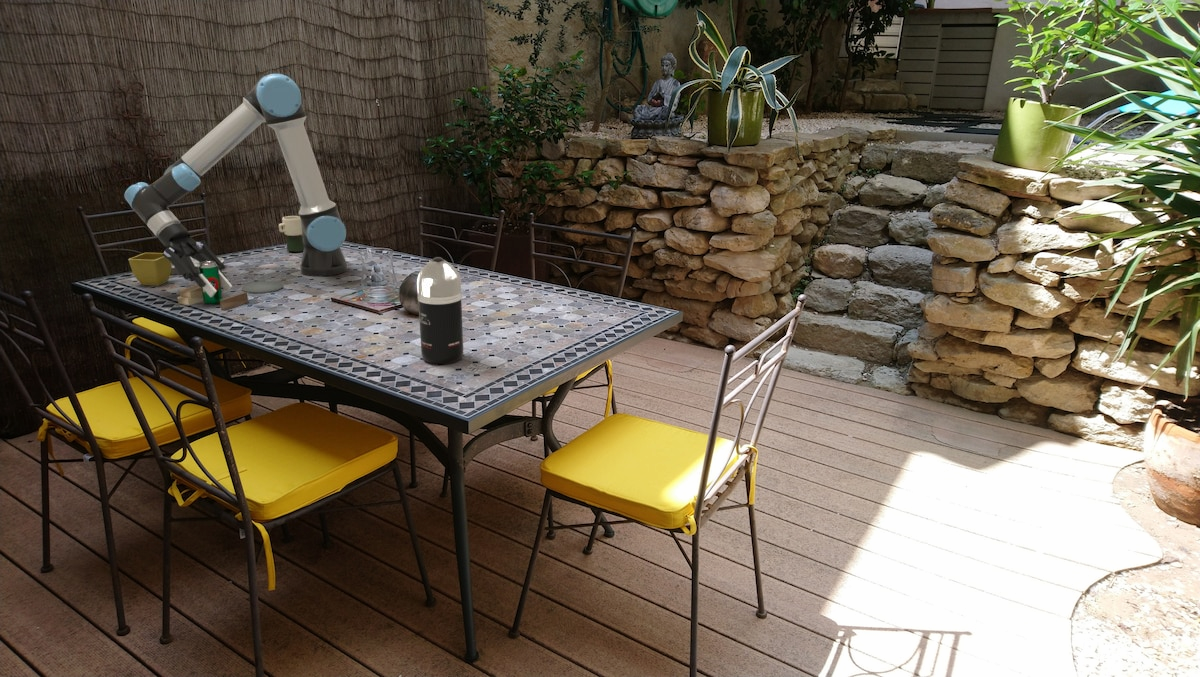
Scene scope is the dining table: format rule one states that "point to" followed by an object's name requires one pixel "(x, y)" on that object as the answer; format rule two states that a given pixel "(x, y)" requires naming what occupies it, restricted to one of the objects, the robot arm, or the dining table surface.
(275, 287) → the pad
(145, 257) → the flower pot
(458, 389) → the dining table surface
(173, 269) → the brain slice
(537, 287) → the dining table surface
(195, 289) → the set of wooden blocks
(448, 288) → the black and cream bottle
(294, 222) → the character mug
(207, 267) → the soda can
